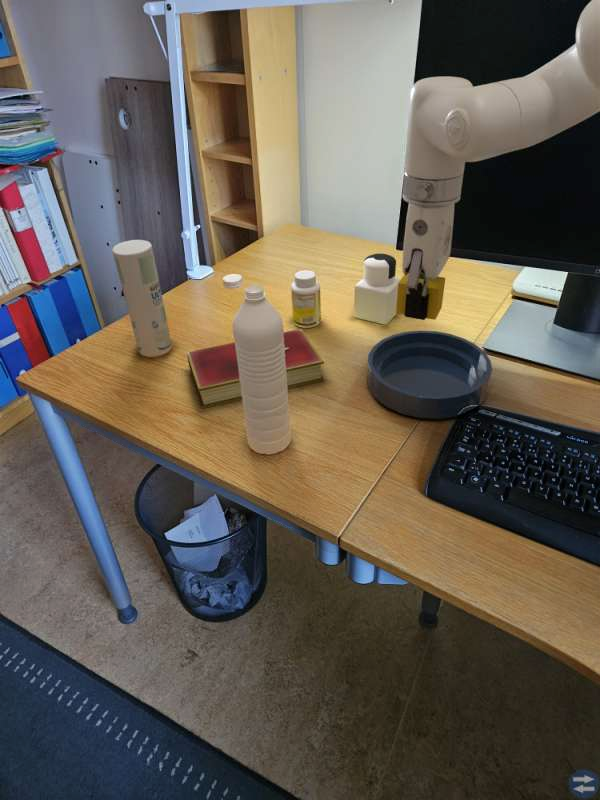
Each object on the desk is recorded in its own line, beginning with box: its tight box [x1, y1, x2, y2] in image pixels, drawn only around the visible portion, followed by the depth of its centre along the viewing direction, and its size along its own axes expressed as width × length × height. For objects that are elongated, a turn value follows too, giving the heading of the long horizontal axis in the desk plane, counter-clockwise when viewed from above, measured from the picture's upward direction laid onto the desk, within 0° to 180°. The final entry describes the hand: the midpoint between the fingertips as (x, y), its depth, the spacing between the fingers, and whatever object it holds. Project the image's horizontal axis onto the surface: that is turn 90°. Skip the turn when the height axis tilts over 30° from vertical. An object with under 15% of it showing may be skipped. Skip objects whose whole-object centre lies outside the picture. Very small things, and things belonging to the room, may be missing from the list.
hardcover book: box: [186, 328, 325, 409], centre depth 96 cm, size 12×21×4 cm, turn 108°
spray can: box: [111, 239, 173, 358], centre depth 99 cm, size 6×6×20 cm
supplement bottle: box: [290, 269, 322, 329], centre depth 108 cm, size 6×6×10 cm
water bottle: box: [222, 273, 292, 455], centre depth 76 cm, size 9×6×25 cm
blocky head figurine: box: [353, 253, 402, 326], centre depth 109 cm, size 7×7×12 cm
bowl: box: [366, 330, 493, 420], centre depth 92 cm, size 20×20×4 cm
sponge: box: [396, 273, 446, 321], centre depth 83 cm, size 6×4×5 cm, turn 66°
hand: (419, 309), depth 84 cm, fingers closed on sponge, 4 cm apart
